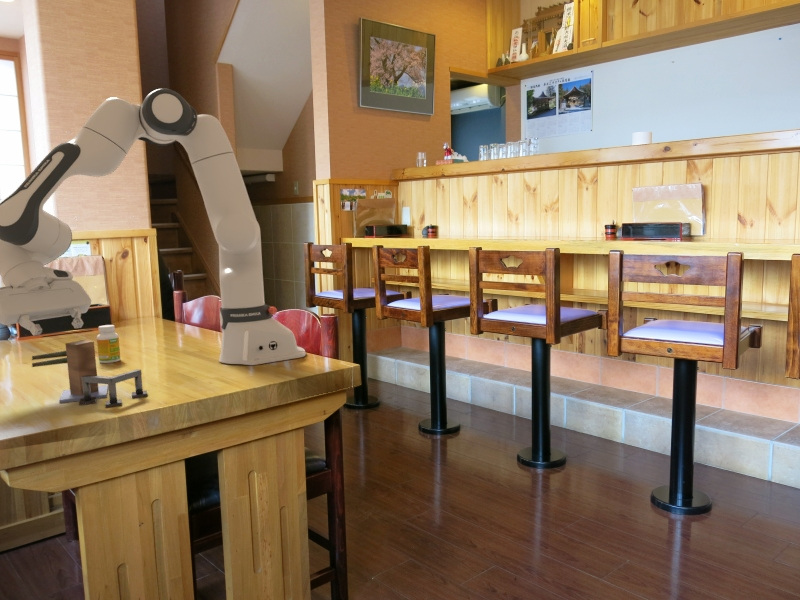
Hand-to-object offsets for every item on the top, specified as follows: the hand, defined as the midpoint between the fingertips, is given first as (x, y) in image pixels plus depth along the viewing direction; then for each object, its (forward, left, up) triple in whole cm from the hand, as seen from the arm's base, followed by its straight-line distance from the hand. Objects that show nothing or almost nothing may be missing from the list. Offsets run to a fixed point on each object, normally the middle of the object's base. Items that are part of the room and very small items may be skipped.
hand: (59, 329), depth 145 cm
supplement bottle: (-8, -32, -14) cm, 36 cm away
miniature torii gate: (+4, -43, -15) cm, 46 cm away
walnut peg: (-4, +6, -13) cm, 15 cm away
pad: (-4, +6, -14) cm, 16 cm away
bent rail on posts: (-10, +15, -14) cm, 23 cm away
